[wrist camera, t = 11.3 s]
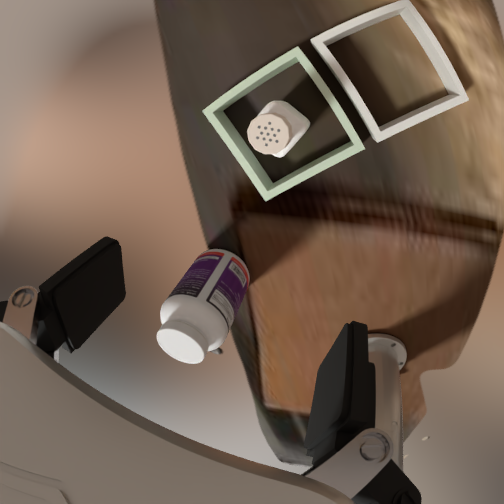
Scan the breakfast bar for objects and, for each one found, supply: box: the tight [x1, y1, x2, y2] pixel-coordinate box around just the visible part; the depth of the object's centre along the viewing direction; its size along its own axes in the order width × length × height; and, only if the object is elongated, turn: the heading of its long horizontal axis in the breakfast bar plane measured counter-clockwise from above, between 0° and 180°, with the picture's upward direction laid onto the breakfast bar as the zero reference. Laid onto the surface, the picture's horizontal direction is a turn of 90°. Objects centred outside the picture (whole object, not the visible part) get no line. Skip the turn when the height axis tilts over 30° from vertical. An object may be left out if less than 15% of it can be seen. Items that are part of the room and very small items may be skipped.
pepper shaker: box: [247, 101, 310, 158], centre depth 23 cm, size 4×4×10 cm
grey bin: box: [310, 0, 469, 143], centre depth 19 cm, size 12×12×3 cm
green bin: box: [202, 47, 365, 201], centre depth 26 cm, size 12×12×3 cm
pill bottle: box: [157, 249, 250, 364], centre depth 33 cm, size 8×8×14 cm
